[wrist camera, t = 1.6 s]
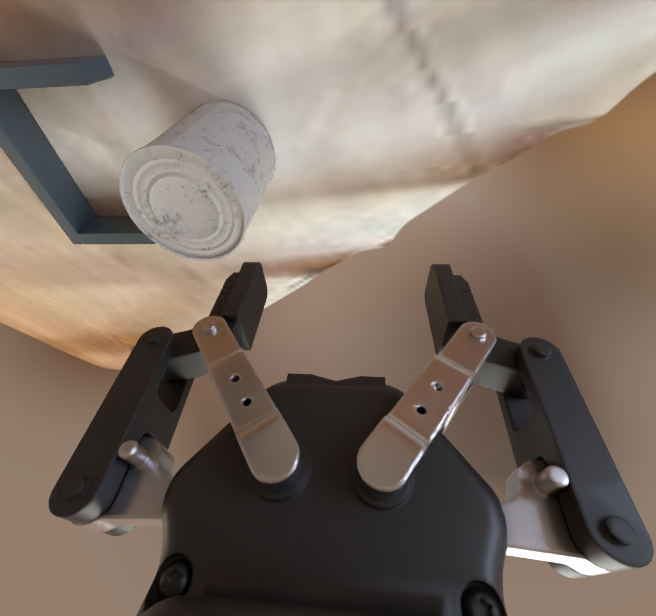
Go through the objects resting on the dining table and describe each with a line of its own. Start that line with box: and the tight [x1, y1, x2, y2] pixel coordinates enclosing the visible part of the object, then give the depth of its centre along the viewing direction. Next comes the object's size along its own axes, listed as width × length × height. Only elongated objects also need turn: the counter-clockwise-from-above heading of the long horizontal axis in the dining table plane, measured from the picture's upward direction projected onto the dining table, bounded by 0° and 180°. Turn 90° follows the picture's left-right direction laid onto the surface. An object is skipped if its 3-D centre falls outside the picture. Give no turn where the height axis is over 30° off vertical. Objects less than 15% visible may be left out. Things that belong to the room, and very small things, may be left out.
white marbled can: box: [119, 101, 275, 261], centre depth 28 cm, size 10×10×12 cm
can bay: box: [0, 56, 156, 244], centre depth 33 cm, size 12×17×4 cm
